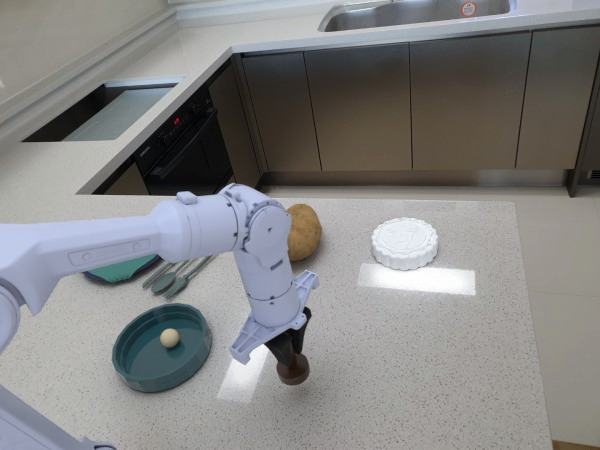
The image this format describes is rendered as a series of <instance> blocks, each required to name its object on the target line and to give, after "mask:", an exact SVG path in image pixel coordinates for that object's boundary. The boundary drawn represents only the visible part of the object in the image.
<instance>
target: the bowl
mask: <svg viewBox="0 0 600 450" xmlns="http://www.w3.org/2000/svg"><path fill="white" fill-rule="evenodd" d="M166 329H174V330H176V331H177V332H178V334H179V341H178V343H177V344H176V345H175V346H174V347H170V348H168V347H165V346H163V345H162V343H161V341H160V337H161V334H162V333H163V331H165V330H166ZM212 340H213V339H212V333H211V329H210V326H209V324H208V322H207V319H206V318H205V316H204V315H203V313H202V312H201V310H200V309H199V308H197V307H195V306H193V305H191V304H188V303H182V302H173V303H164V304H161V305H158V306H154V307H152V308H150V309H148V310H146V311H144V312H143V313H140V314H139V315H137V316H136V317H134V319H133V320H131V321H130V322H129V323H127V324H126V326H125V327H124V328H123V329H122V331H121V332H120V333H119V334H118V336H117V337H116V339H115V342H114V343H113V346H112V351H111V362H112V365H113V368H114V370H115V371H116V373H117V375H118V376H119V378H120V379H121V380H122V382H123V383H125V385H127V386H128V387H129V388H130V389H132V390H135V391H139V392H141V393H142V392H144V393H153V392H162V391H165V390H168V389H172V388H174V387H176V386H178V385H180V384H182V383H184V382H185V381H186V380H189V378H190V377H192V376H193V375H194V374H195V373H196V372H197V371H198V370H199V369H200V368H201V367H202V366H203V364H204V362H205V361H206V359H207V358H208V355H209V354H210V350H211V346H212Z"/></svg>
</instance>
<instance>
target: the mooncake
mask: <svg viewBox="0 0 600 450" xmlns="http://www.w3.org/2000/svg"><path fill="white" fill-rule="evenodd" d="M370 241H371V242H370V243H371V251H372V255H373V257H375V260H376V261H377V262H378V263H381V265H382V266H383V267H386V268H390V269H391V270H394V271H395V270H401V271H403V272H404V271H408V270H411V271H414V270H417V269H418V268H423V267H425V266H427V264H429V263H432V262H433V261H434V258H435V257H436V256H438V250H439V235H438V234H437V230H436V229H435V228H434V227H433V226H432V225H431V224H430V223H428V222H426V221H425V220H423V219H418V218H416V217H410V218H409V217H406V216H403V217H400V218H399V217H395V218H392V219H391V220H385V221H384V222H383V223H381V224H378V225H377V226H376V228H374V230H373V231H372V235H371V237H370Z"/></svg>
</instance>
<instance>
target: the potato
mask: <svg viewBox="0 0 600 450" xmlns="http://www.w3.org/2000/svg"><path fill="white" fill-rule="evenodd" d="M285 211H286V213H288V215H289V214H291V218H292V222H291V229H290V232H289V235H288V238H287V245H288V249H289V250H288V251H287V252H288V257H289V261H290V262H295V261H296V262H297V261H300V260H303V259H306V258H307V257H309V256H310V255H312V254H313V253H314V252H315V251H316V249H317V247H318V245H319V243H320V242H321V238H322V233H323V227H322V224H321V221H320V219H319V216H318V215H317V212H316V210H314V208H313V207H312V206H310V205H308V204H307V203H295V204H294V205H292V206H290V207H288V208H287V209H285Z"/></svg>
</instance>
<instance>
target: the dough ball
mask: <svg viewBox="0 0 600 450" xmlns="http://www.w3.org/2000/svg"><path fill="white" fill-rule="evenodd" d="M160 341H161V343H162V345H163V346H165V347H168V348H170V347H174V346H175V345H176V344H177V343H178V341H179V334H178V332H177V331H176V330H174V329H166V330H165V331H163V333H162V334H161V337H160Z"/></svg>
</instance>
